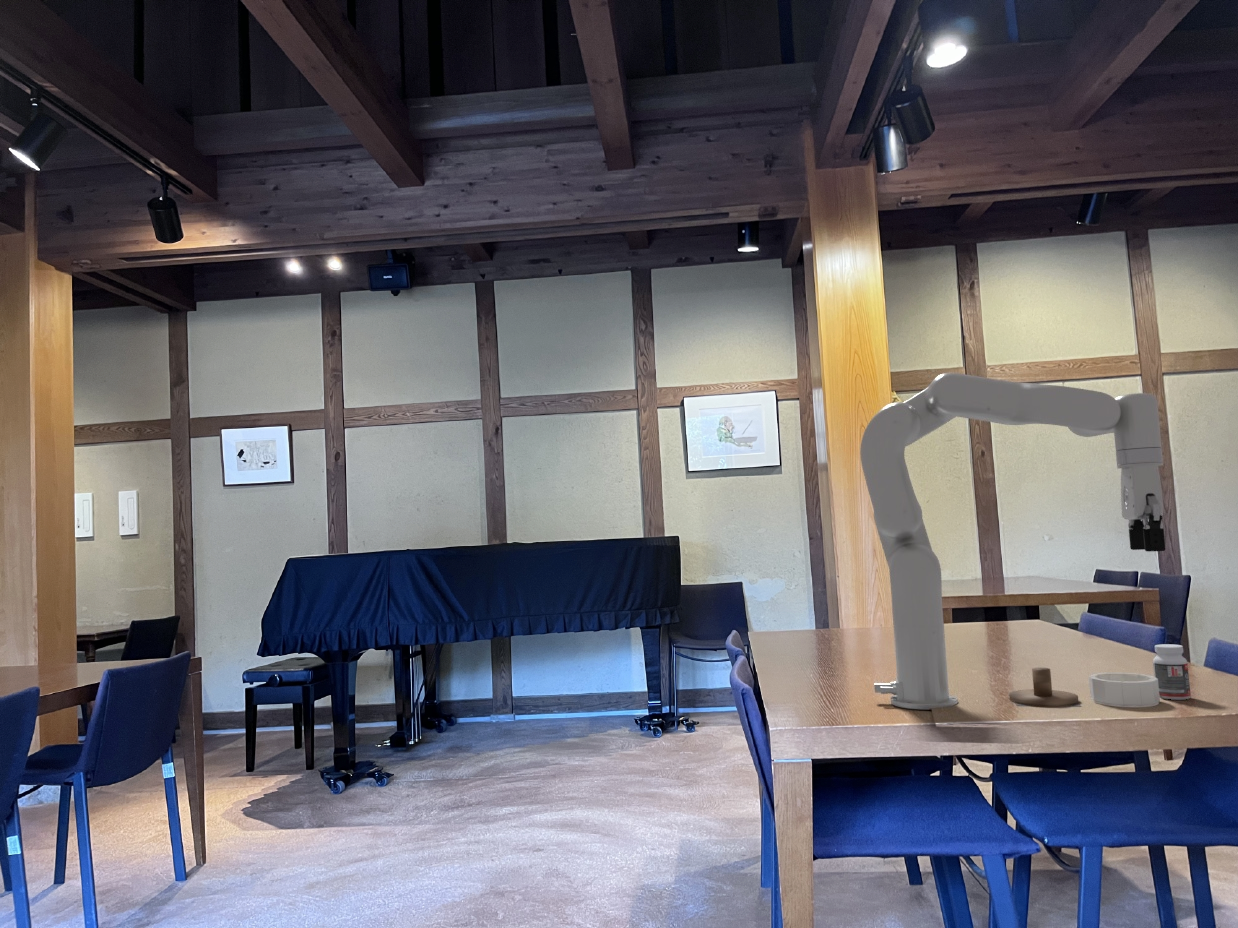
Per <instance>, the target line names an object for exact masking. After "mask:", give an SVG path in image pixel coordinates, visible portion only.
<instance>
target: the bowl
mask: <svg viewBox="0 0 1238 928" xmlns="http://www.w3.org/2000/svg"><path fill="white" fill-rule="evenodd" d="M1088 682H1089V683H1088V684H1089V695H1090V696H1089V697H1090V698H1091V701H1092V702H1093V703H1095V704H1099V705H1102V706H1110V707H1119V708H1151V707H1155V706H1157V705H1159V704H1160V701H1161V698H1160V696H1159V685H1158V679H1157V678H1156V677H1154V675H1149V674H1143V673H1134V672H1099V673H1092V674H1090V675H1088Z"/></svg>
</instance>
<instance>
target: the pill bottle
mask: <svg viewBox="0 0 1238 928" xmlns="http://www.w3.org/2000/svg"><path fill="white" fill-rule="evenodd" d="M1154 651H1155V652H1154V653H1156V656H1155V657H1154V658H1153V659H1152V665H1153V674H1154V675H1153V676H1154V677H1156V678H1157V679H1158V685H1159V696H1160V699H1162V700H1168V699H1171V701H1185V700H1186V699H1187V700H1189V699H1191V696H1192V695H1191V686H1190V685H1191V684H1190V675H1189V665H1188V660H1187V658H1185V657H1184V656H1183V653H1184V646H1183V645H1181V644H1169V643H1166V644H1164V643H1162V644H1155V645H1154Z"/></svg>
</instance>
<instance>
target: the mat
mask: <svg viewBox="0 0 1238 928" xmlns="http://www.w3.org/2000/svg"><path fill="white" fill-rule="evenodd" d="M1014 704H1015V705H1016V707H1032V706H1031V705H1023V704H1018V703H1014ZM1062 707H1063V708H1064V707H1067V708H1068V707H1069V708H1071V707H1072V708H1074V707H1075V708H1076V707H1077V708H1081V707H1082V705H1080V704H1079V702H1078V703H1077V704H1074V705H1069V706H1061V707H1060V708H1062Z"/></svg>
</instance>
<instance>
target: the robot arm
mask: <svg viewBox="0 0 1238 928" xmlns="http://www.w3.org/2000/svg"><path fill="white" fill-rule="evenodd" d="M1158 403H1159V402H1158V399H1157V397H1156V395H1154V394H1153V393H1148V392H1146V393H1145V392H1144V393H1143V392H1141V393H1139V392H1138V393H1129V394H1123V395H1119V396H1117V397H1113V396H1112V395H1110V394H1108V393H1105V392H1102V391H1098V390H1093V389H1084V388H1080V387H1078V388H1077V387H1071V386H1063V385H1055V384H1040V383H1031V382H1021V381H1019V382H1018V381H1011V380H1003V379H995V378H989V377H982V376H979V375H971V374H964V373H959V372H958V373H957V372H946V373H945V372H943V373H942V374H939V375H938V376H935V378H934V379H933V380H932V381H931V383H930V384H929V385H928V386H927V387H926V388H924V389H923V390H922V391H920V392H919V393H917V394H915V395H914V396H912V397H910V398H909V399H907V400H905V401H904V402H901V401H896V402H893V403H889V404H887V405H885V406H884V407H882V408H881V409H880V410H879V411H878V412H877V413H876V414H875V415H874V416H873V417H872V418H871V420H870V421H868V424H867V425H866V428H865V429H864V432H863V435H862V437H861V442H860V453H859V454H860V462H861V467H862V472H863V474H864V479H865V483H866V487H867V492H868V494H869V497H870V498H869V499H870V501H871V504H872V509H873V520H874V523H875V526H876V531H877V534H878V536H879V540H880V543H881V547H882V550H883V554H884V557H885V559H886V564H887V566H888V570H889V582H890V593H891V609H892V610H891V611H892V622H893V623H892V624H893V637H894V652H895V667H896V678H895V681H890V683H883V682H879V683H878V682H874V683H873V685H874V687H873V688H874V693H876V694H880V695H885V694H891V695H892V696H891V697H890V704H891V705H893V706H895V707H898V708H902V709H909V710H922V711H923V710H925V711H926V710H927V711H929V710H931V711H932V709H937V708H938V709H939V708H947V707H948V708H949V707H952V706H956V705H957V704H958V703H959V699H958V698H957V696H955V695H951V694H950V691H949V690H950V689H949V678H948V664H947V650H946V637H945V623H944V612H943V593H942V592H943V589H942V587H943V585H942V584H943V583H942V569H941V563H940V561H939V559H938V556H937V554H936V553H935V552H934V551H933V548H932V546H931V543H930V539H929V536H928V532H927V529H926V526H925V522H924V519H923V510H922V506H921V505H920V503H919V501H918V497H917V496H916V494H915V490H914V487H913V484H912V481H911V478H910V473H909V470H908V466H907V462H906V459H905V448H906V447H908V446H911V445H912V444H913V443H916V442H917V441H919V440H920V439H922V438H923V437H926V436H928V435H929V434H931V433H932V432H934V431H936V430H938V429H939V428H941V427H942V426H944V425H946V424H947V423H949V422H950V421H951V420H953V419H955V418H956V417H957V418H964V419H970V420H971V419H972V420H976V421H983V422H989V423H994V424H999V425H1000V424H1001V425H1008V426H1024V425H1034V424H1035V425H1036V424H1037V425H1049V426H1050V425H1051V426H1060V427H1066V428H1068V430H1069V431H1071V432H1072V434H1074V435H1076V436H1079V437H1086V438H1092V437H1098V436H1102V435H1108V434H1113V435H1114V445H1115V446H1114V447H1115V457H1116V468H1117V469H1121V470H1120V471H1121V472H1120V495H1121V497H1120V501H1121V516H1122V518H1123V519H1125V520H1128V537H1129V546H1130V547H1129V548H1130V550H1132V551H1137V550H1138V551H1139V550H1140V551H1141V550H1144V551H1145V552H1147V553H1148V552H1149V553H1150V552H1164V551H1165V550H1166V542H1165V541H1166V539H1165V531H1164V530H1165V529H1164V523H1163V515H1164V499H1163V498H1164V497H1163V491H1162V483H1161V475H1160V470H1159V467H1161V466H1164V458H1163V449H1162V438H1161V437H1162V436H1161V426H1160V425H1161V424H1160V416H1159V413H1160V412H1159V404H1158Z"/></svg>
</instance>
